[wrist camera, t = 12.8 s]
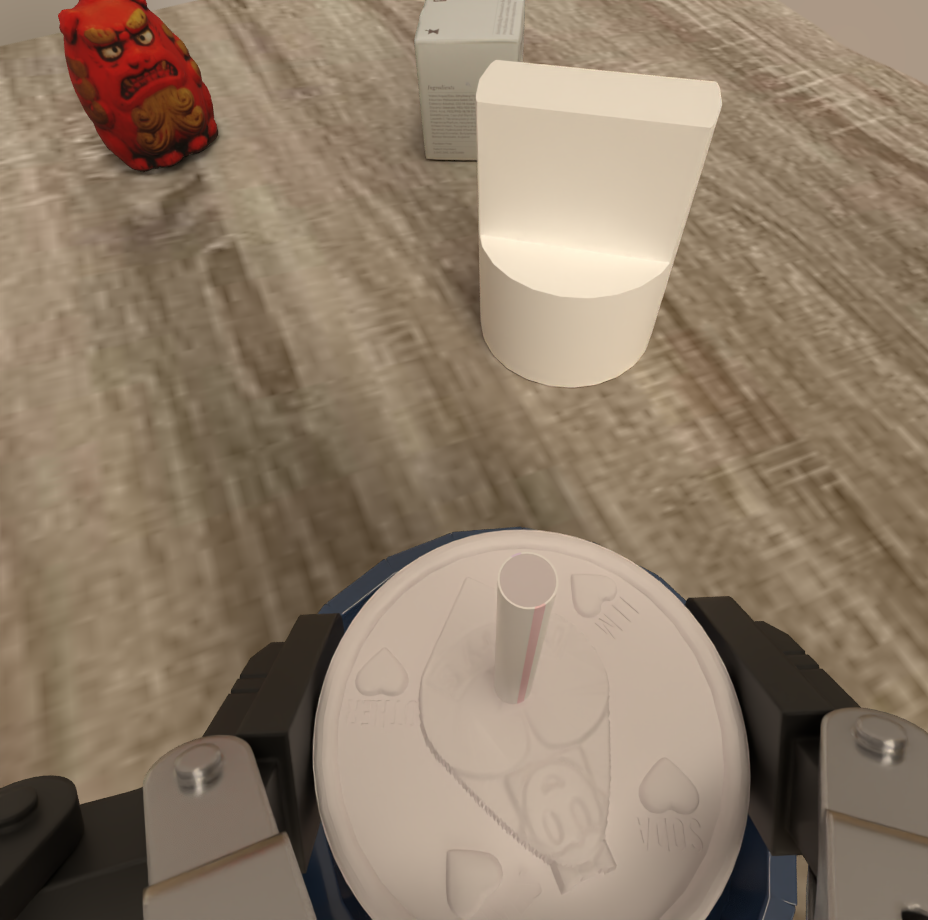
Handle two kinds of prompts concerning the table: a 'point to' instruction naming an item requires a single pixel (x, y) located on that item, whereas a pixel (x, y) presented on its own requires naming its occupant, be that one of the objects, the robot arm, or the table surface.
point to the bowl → (733, 916)
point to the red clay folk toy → (136, 83)
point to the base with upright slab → (582, 211)
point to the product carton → (461, 66)
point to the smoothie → (530, 741)
